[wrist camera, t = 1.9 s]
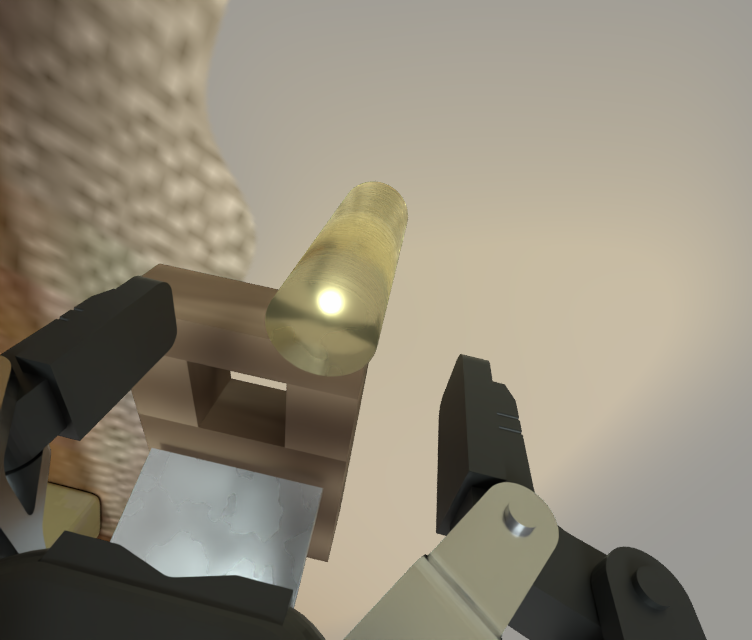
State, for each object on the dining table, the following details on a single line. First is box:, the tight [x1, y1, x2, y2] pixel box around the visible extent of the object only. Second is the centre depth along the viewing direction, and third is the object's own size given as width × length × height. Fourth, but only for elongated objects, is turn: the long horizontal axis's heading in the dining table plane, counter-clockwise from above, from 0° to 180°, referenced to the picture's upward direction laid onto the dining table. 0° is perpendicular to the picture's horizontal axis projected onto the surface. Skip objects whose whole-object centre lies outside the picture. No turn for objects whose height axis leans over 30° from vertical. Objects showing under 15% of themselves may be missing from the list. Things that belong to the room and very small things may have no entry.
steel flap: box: [110, 448, 324, 608], centre depth 20 cm, size 9×10×1 cm
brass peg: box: [265, 182, 408, 376], centre depth 14 cm, size 3×3×9 cm
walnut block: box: [131, 264, 369, 562], centre depth 25 cm, size 20×12×4 cm, turn 171°
